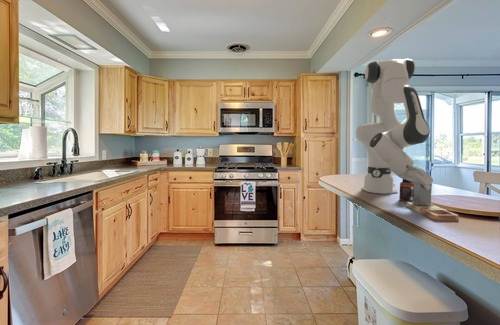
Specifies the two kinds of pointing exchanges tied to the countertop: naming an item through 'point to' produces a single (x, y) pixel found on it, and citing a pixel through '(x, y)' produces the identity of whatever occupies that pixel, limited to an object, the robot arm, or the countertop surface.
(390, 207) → the countertop surface
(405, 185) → the supplement bottle
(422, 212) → the wooden tray
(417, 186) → the graphite peg
